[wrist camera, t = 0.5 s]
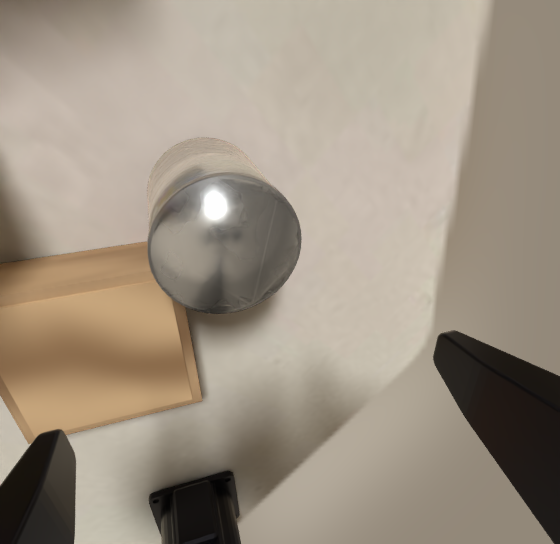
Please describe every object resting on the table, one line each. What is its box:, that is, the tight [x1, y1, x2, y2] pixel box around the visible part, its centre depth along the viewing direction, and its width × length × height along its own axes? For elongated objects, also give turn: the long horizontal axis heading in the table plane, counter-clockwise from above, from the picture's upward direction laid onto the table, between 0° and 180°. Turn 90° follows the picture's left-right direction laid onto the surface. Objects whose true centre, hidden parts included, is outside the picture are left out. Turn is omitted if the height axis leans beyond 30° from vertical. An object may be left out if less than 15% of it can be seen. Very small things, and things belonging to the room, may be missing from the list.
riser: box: [0, 242, 202, 444], centre depth 21 cm, size 9×9×3 cm
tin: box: [147, 138, 301, 314], centre depth 18 cm, size 6×6×6 cm
